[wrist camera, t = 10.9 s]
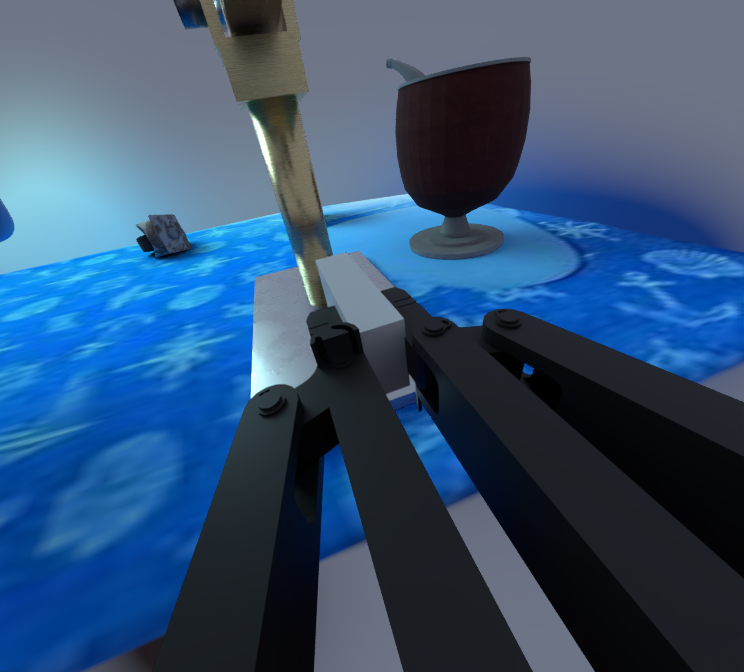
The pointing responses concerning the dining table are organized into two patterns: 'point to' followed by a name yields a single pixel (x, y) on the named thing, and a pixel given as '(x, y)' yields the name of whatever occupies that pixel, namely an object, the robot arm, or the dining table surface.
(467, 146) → the mate gourd
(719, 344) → the dining table surface
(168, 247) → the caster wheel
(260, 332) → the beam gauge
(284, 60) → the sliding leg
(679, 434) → the robot arm
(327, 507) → the dining table surface
